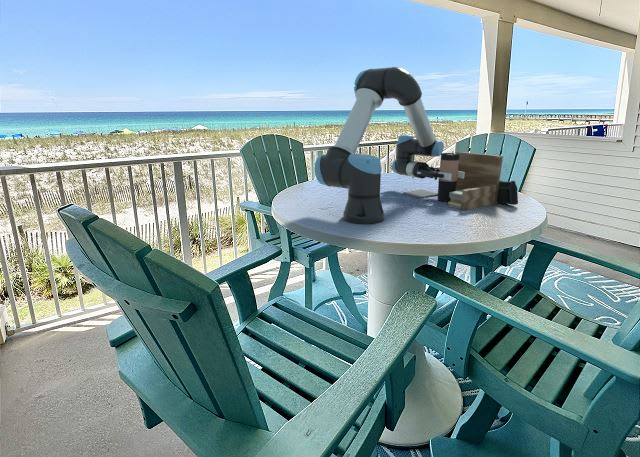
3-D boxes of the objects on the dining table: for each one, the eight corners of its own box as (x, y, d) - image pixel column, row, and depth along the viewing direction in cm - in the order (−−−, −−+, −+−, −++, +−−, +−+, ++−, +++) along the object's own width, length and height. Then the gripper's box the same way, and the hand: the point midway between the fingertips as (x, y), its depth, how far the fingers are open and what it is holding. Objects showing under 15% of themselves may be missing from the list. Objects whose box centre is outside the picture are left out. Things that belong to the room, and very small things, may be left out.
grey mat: (421, 198, 168) (421, 196, 168) (402, 193, 178) (403, 192, 178) (439, 195, 174) (439, 193, 174) (421, 190, 184) (421, 189, 184)
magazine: (525, 186, 146) (482, 156, 170) (518, 187, 145) (476, 156, 169) (510, 222, 156) (472, 189, 180) (504, 223, 155) (466, 189, 179)
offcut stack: (463, 210, 149) (465, 195, 147) (447, 206, 154) (448, 192, 153) (484, 203, 158) (485, 189, 157) (467, 200, 164) (469, 187, 162)
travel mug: (436, 200, 161) (440, 154, 155) (437, 197, 168) (440, 152, 162) (455, 201, 159) (460, 154, 153) (454, 198, 166) (459, 153, 160)
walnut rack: (463, 210, 147) (469, 159, 141) (422, 200, 165) (426, 154, 159) (496, 203, 157) (502, 156, 151) (454, 194, 175) (458, 151, 169)
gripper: (432, 175, 181) (472, 182, 162) (401, 179, 171) (439, 187, 153) (433, 160, 179) (474, 165, 160) (402, 163, 169) (441, 169, 150)
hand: (457, 176), depth 156 cm, fingers closed on travel mug, 7 cm apart
